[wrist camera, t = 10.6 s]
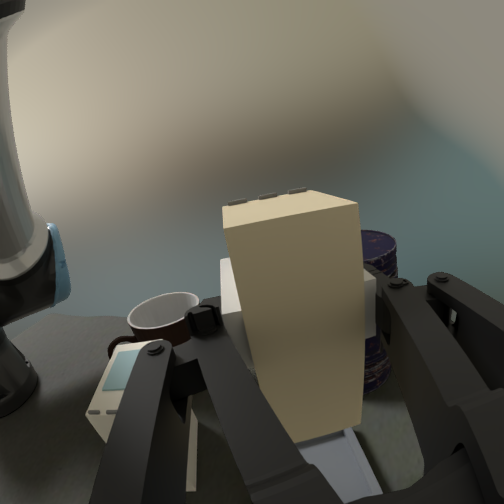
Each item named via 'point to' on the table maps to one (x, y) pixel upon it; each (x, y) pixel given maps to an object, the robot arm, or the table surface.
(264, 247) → the cream rectangular block
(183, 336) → the coffee mug
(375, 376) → the storage jar
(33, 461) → the table surface
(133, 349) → the cream box with panel
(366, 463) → the tray
